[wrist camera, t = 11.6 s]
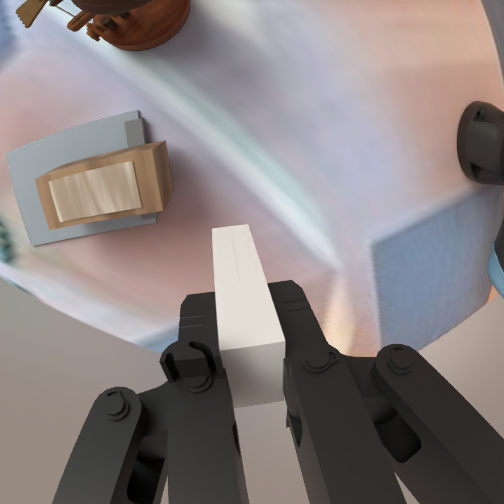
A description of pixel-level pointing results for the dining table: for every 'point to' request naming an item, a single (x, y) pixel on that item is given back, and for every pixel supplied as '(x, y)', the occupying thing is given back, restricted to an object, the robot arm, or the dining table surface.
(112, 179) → the brown rectangular block
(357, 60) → the dining table surface
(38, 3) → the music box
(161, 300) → the dining table surface
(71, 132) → the mat
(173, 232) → the dining table surface
